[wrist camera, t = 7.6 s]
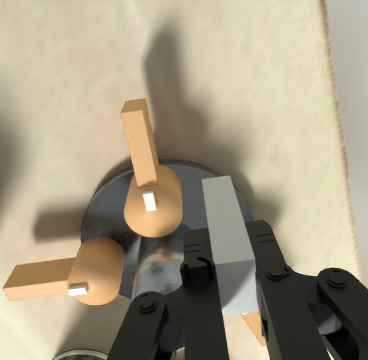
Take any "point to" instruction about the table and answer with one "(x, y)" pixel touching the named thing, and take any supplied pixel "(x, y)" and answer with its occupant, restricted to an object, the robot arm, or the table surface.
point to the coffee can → (81, 355)
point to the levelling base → (120, 230)
